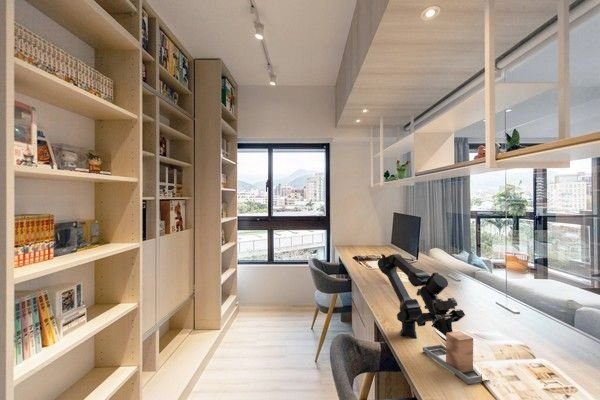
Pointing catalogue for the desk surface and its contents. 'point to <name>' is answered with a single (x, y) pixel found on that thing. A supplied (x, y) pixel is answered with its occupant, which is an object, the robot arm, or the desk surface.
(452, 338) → the terracotta block
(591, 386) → the desk surface
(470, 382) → the trap box
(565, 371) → the desk surface
